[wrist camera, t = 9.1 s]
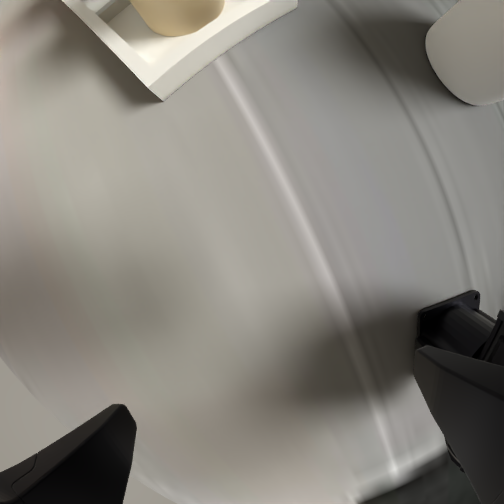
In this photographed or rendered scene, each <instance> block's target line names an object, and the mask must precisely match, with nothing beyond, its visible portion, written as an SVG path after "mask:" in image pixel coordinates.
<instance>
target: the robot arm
mask: <svg viewBox="0 0 504 504" xmlns="http://www.w3.org/2000/svg"><path fill="white" fill-rule="evenodd" d="M474 296H475V298H474ZM479 305H480V293H479V292H478V291H476V290H473V291H471V292H468V293H466V294H463V295H461V296H458V297H456V298H453V299H450V300H448V301H445V302H443V303H440V304H437V305H434V306H432V307H429V308H426V309H423V310H421V311H420V312H419V314H418V332H417V338H416V347H415V357H414V377H415V380H416V382H417V384H418V386H419V388H420V390H421V392H422V394H423V397H424V399H425V401H426V403H427V405H428V408H429V410H430V412H431V414H432V416H433V417H434V419H435V421H436V423H437V424H438V426H439V428H440V429H441V431H442V433H443V434H444V437H445V441H446V445H447V449H448V452H449V455H450V457H451V460H452V461H453V462H454V463H455V464H456V465H457V466H459V467H460V470H461V471H462V472H464V473H466V475H467V477H468V479H469V481H470V482H471V484H472V486H473V488H474V490H475V492H476V494H477V496H478V498H479V500H480V502H481V504H504V311H503V310H501V309H500V311H499V313H498V315H497V317H498V318H497V321H496V320H495V319H493V318H492V317H490V316H489V315H487V314H486V313H484V312H482V311H481V310H479ZM425 314H426V315H425ZM424 315H425V317H424V318H423V316H424ZM136 430H137V426H136V422H135V420H134V419H133V417H132V415H131V414H130V412H129V410H128V408H127V407H126V406H125V405H124V404H112V405H111V406H109V407H108V408H106V409H105V410H103V411H102V412H100V413H99V414H97V415H96V416H94V417H93V418H91V419H90V420H88V421H87V422H85V423H84V424H82V425H81V426H79V427H77V428H76V429H74V430H73V431H71V432H70V433H68V434H67V435H65V436H63V437H62V438H60V439H59V440H57V441H56V442H54V443H52V444H51V445H49V446H47V447H46V448H44V449H43V450H41V451H39V452H38V454H37V453H36V454H34V455H33V456H31V457H29V458H28V459H26V460H24V461H22V462H21V463H19V464H17V465H15V466H13V467H11V468H9V469H6V470H4V471H2V472H0V504H123V500H124V495H125V491H126V487H127V482H128V478H129V474H130V470H131V465H132V459H133V451H134V444H135V437H136Z"/></svg>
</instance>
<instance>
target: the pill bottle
mask: <svg viewBox="0 0 504 504" xmlns="http://www.w3.org/2000/svg"><path fill="white" fill-rule="evenodd" d="M425 45H426V52H427V56H428V59H429V61H430V64H431V66H432V68H433V69H434V71H435V73H436V74H437V76H438V77H439V79H440V80H441V81H442V83H443V84H444V85H445V86H446V87H447V88H448V89H449V90H450V91H451V92H452V93H453V94H454V95H455V96H456V97H458V98H459V99H461V100H462V101H464V102H466V103H469V104H472V105H476V106H483V105H489V104H492V103H495V102H498V101H501V100H504V0H460V1H459V2H458V3H456V4H455V5H454V6H453V7H452V8H451V9H450V10H449V11H448V12H446V13H445V14H444V15H443V16H442V17H441V18H440V19H439V20H438V21H437V22H435V23H434V24H433V25H432V27H431V28H430V29H429V31H428V33H427V35H426V41H425Z"/></svg>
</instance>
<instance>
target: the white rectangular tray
mask: <svg viewBox="0 0 504 504" xmlns="http://www.w3.org/2000/svg"><path fill="white" fill-rule="evenodd" d="M62 1H63V2H64V3H65V4H66V5H67V6H68V7H69V8H70V9H71V10H72V11H73V12H74V13H75V14H76V15H77V16H78V17H79V18H80V19H81V20H82V21H83V22H84V23H85V24H86V25H87V26H88V27H89V28H90V29H91V30H92V31H93V32H94V33H95V34H96V35H97V36H98V37H99V38H100V39H101V40H102V41H103V42H104V43H105V44H106V45H107V46H108V47H109V48H110V49H111V50H112V51H113V52H114V53H115V54H116V55H117V56H118V57H119V58H120V59H121V60H122V61H123V62H124V63H125V64H126V65H127V67H128V68H129V69H130V70H131V71H132V72H133V73H134V74H135V75H136V76H137V77H138V78H139V79H140V80H141V81H142V82H143V83H144V84H145V86H146V87H147V88H148V89H150V90H151V91H152V92H153V93H154V94H155V95H156V96H158V97H159V98H160V99H161V100H162V101H163V102H164V101H165V100H166V99H167V98H168V97H169V96H170V95H171V94H173V93H174V92H175V91H176V90H177V89H178V88H180V87H181V86H182V85H183V84H184V83H186V82H187V81H188V80H189V79H191V78H192V77H193V76H194V75H196V74H197V73H198V72H199V71H201V70H202V69H203V68H205V67H206V66H207V65H209V64H210V63H211V62H213V61H214V60H215V59H217V58H218V57H219V56H221V55H222V54H224V53H225V52H226V51H228V50H229V49H231V48H232V47H234V46H235V45H236V44H238V43H239V42H241V41H242V40H244V39H245V38H247V37H249V36H250V35H252V34H253V33H255V32H256V31H258V30H260V29H261V28H263V27H265V26H266V25H268V24H270V23H271V22H273V21H275V20H276V19H278V18H280V17H282V16H283V15H285V14H287V13H289V12H291V11H293V10H294V9H296V8H297V4H298V0H225V4H224V8H223V10H222V12H221V14H220V15H219V16H218V18H216V19H215V20H213V21H212V22H210V23H209V24H207V25H206V26H204V27H203V28H201V29H200V30H198V31H197V32H194V33H191V34H188V35H183V36H163V35H160V34H157V33H155V32H153V31H152V30H151V29H150V28H149V27H148V25H147V24H146V23H145V21H144V20H143V19H142V17H141V16H140V14H139V13H138V12H137V10H136V9H135V8H134V6H133V5H132V4H131V2H130V1H129V0H62Z"/></svg>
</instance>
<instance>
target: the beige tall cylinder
mask: <svg viewBox="0 0 504 504" xmlns="http://www.w3.org/2000/svg"><path fill="white" fill-rule="evenodd" d="M129 1H130V2H131V4H132V5H133V6H134V8H135V9H136V10H137V12H138V13H139V14H140V16H141V17H142V19H143V20H144V21H145V23H146V24H147V25H148V27H149V28H150V29H151V30H152V31H153V32H155V33H157V34H160V35H163V36H183V35H188V34H191V33H194V32H197V31H198V30H200V29H201V28H203V27H204V26H206V25H207V24H209V23H210V22H212V21H213V20H215V19H216V18H218V16H219V15H220V14H221V12H222V10H223V8H224V4H225V0H129Z"/></svg>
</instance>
